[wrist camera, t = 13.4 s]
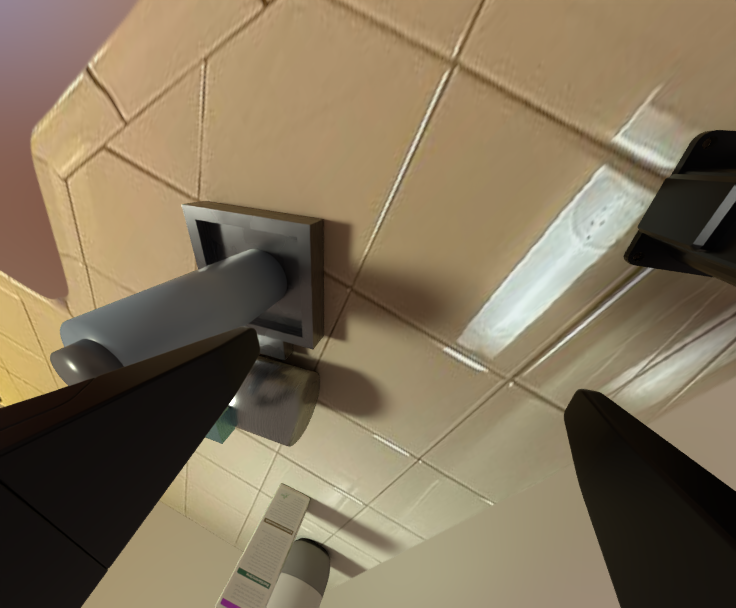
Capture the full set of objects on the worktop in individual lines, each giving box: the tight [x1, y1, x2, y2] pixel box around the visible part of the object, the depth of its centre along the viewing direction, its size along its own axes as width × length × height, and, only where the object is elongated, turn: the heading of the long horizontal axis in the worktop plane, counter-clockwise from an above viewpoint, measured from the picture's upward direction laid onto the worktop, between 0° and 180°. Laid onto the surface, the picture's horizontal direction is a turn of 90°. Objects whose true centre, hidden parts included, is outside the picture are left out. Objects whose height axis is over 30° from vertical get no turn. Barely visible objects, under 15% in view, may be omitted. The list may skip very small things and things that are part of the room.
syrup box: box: [214, 483, 310, 608], centre depth 38 cm, size 6×6×14 cm
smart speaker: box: [266, 539, 330, 608], centre depth 46 cm, size 10×9×14 cm
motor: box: [182, 201, 324, 446], centre depth 23 cm, size 11×21×8 cm, turn 175°
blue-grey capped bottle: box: [50, 249, 287, 386], centre depth 17 cm, size 5×5×13 cm
